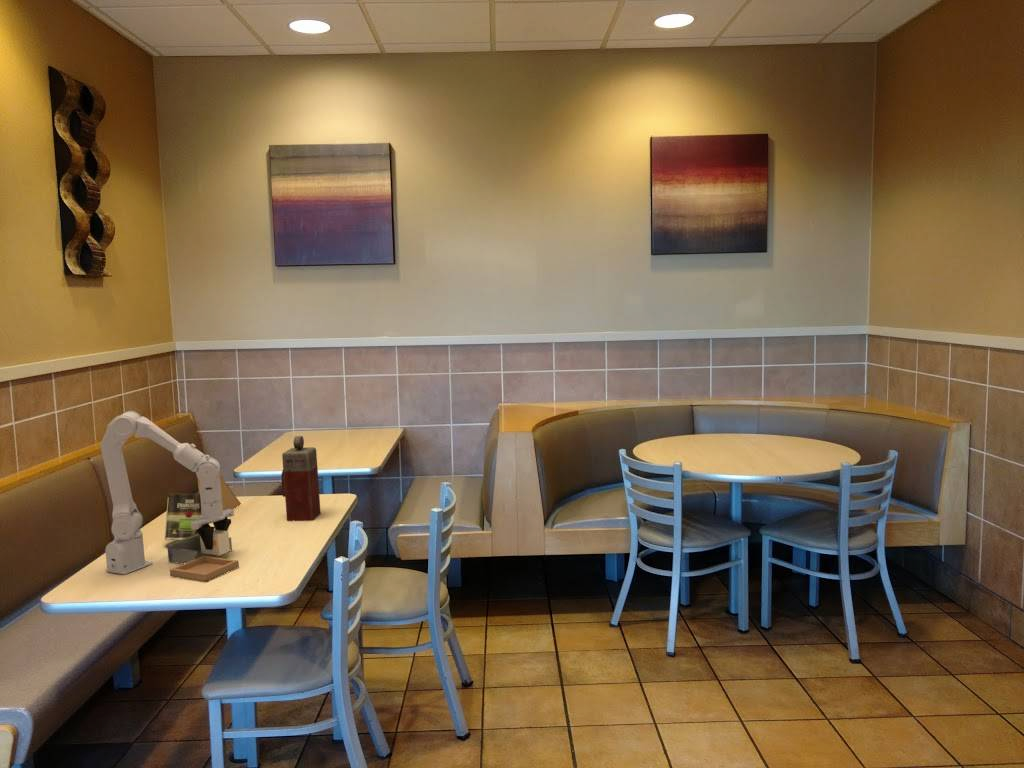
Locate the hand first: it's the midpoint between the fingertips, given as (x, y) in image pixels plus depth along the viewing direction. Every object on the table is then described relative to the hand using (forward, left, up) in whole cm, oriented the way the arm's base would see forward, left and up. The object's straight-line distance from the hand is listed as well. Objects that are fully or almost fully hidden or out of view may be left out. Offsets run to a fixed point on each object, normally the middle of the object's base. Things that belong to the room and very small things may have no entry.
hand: (215, 546), depth 230 cm
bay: (0, +6, -3) cm, 7 cm away
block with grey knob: (0, 0, -2) cm, 2 cm away
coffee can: (+7, +21, -2) cm, 23 cm away
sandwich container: (+42, +40, -4) cm, 58 cm away
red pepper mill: (+43, +5, -4) cm, 43 cm away
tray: (-10, -6, -3) cm, 12 cm away
